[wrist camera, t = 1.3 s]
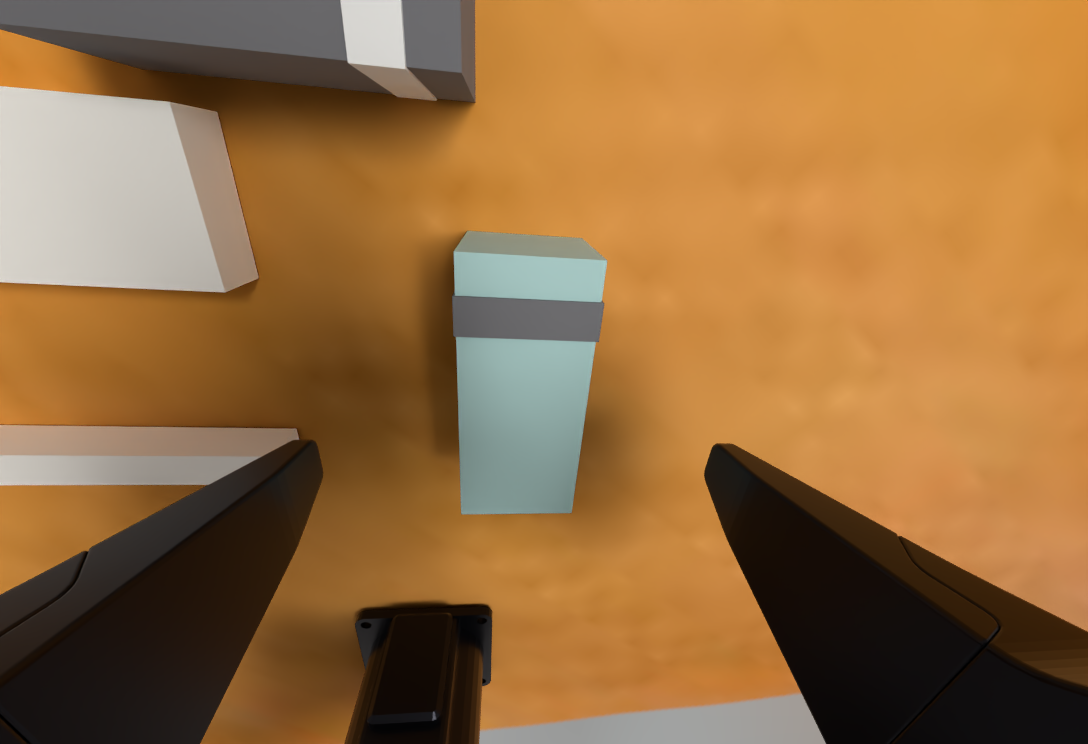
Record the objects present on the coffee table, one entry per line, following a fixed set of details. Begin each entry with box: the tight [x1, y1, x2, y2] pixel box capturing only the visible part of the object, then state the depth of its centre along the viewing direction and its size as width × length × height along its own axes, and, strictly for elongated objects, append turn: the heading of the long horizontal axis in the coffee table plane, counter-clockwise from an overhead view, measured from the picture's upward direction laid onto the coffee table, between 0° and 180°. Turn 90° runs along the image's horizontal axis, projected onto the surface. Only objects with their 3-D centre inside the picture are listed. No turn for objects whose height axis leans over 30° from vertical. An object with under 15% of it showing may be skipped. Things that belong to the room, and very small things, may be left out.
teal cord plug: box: [452, 231, 607, 514], centre depth 12 cm, size 4×8×4 cm, turn 176°
